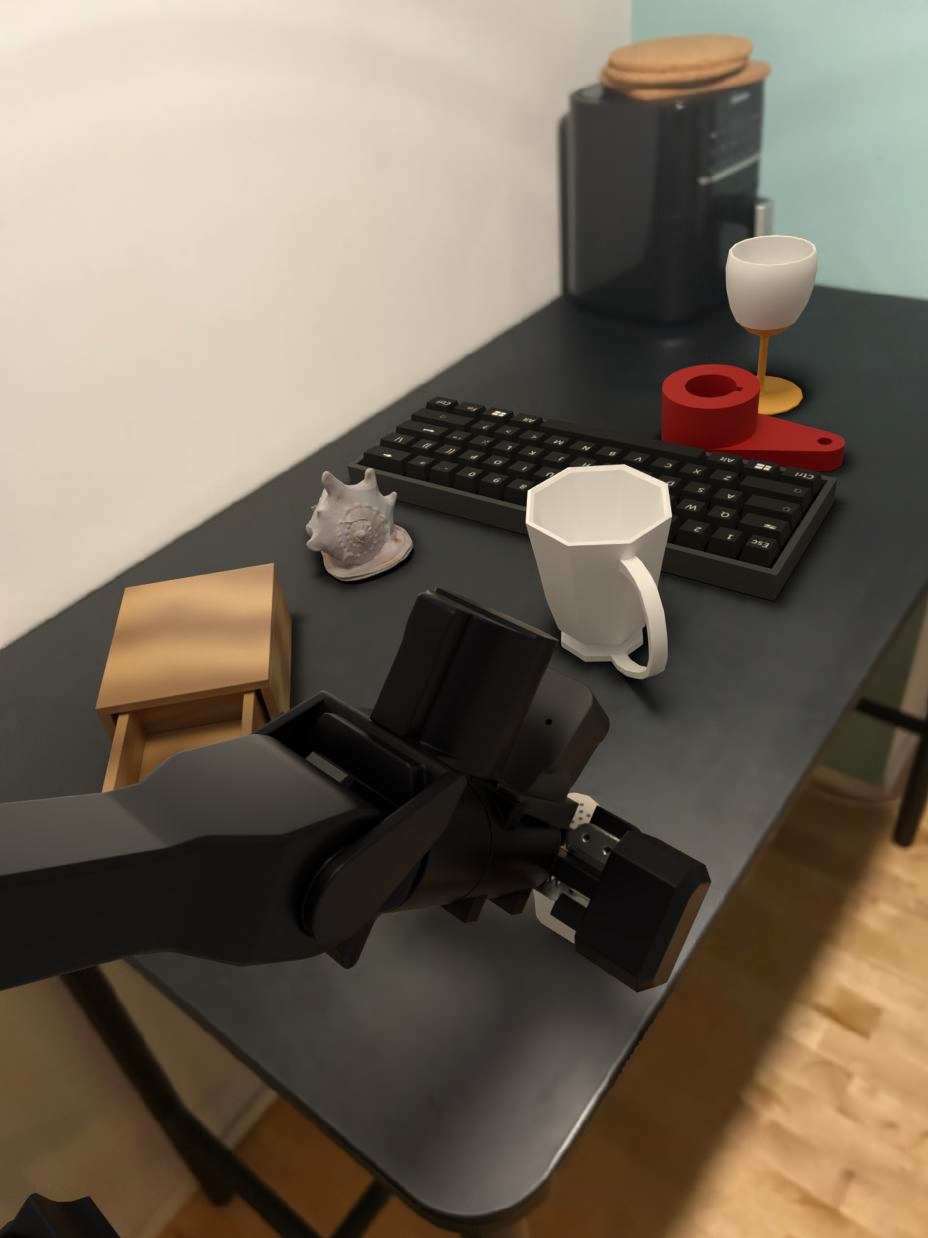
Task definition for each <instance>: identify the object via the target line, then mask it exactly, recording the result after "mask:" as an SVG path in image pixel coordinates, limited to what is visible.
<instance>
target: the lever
mask: <svg viewBox="0 0 928 1238" xmlns="http://www.w3.org/2000/svg"><path fill="white" fill-rule="evenodd" d="M756 376H757V375H755V374H754V373H752V372H751V371H749V370H746V369H744V368H741V367H738V366H734V365H728V364H717V363H716V364H715V363H713V364H711V363H710V364H708V363H707V364H699V365H692V366H688V367H684V368H682V369H679V370H677V371H674V372H672V373H671V374H670V375H668V376H667V377H666V378H665V379H664V381H663V383H662V386H661V387H662V388H661V436H660V438H661V440H660V441H665V442H670V443H675V444H680V445H685V446H690V447H695V448H700V449H705V452H708V453H713V452H714V451H715V452H720V453H725V454H731V455H736V456H741V457H742V459H744V460H749V461H750V459H756V460H761V461H766V462H771V463H776V464H779V466H780V467H784V468H788V467H789V466H791V467H796V468H801V469H806V470H811V471H816V472H831V471H835V470H838V469H839V468H840V467H841V466H843V465H842V464H843V459H844V452H845V448H846V447H845V446H846V441H845V439H844V438H843V437H842V436H840V435H839V434H836V433H833V432H831V431H830V432H829V431H826V430H822V429H818V428H816V427H811V426H807V425H804V424H800V423H797V422H793V421H789V420H785V419H781V418H778V417H775V416H772V415H770V416H767V415H763V414H760V413H758V407H759V396H760V382H759V380H758V378H757V377H756Z"/></svg>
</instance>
